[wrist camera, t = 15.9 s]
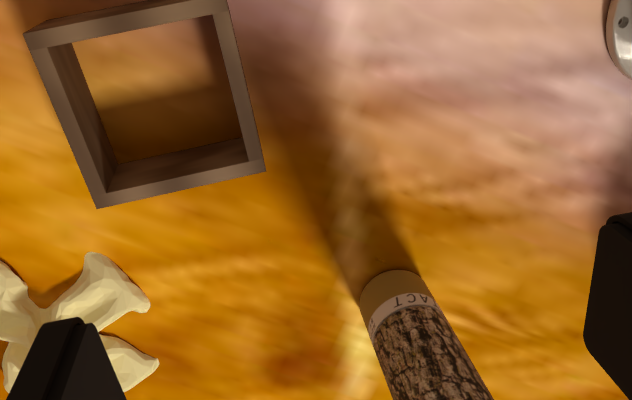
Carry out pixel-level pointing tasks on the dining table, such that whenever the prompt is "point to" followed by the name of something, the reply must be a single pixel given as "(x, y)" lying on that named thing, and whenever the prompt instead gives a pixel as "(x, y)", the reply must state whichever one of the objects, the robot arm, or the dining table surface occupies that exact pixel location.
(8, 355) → the cloth
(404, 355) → the bark textured cylinder
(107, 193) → the holder
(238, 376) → the dining table surface
